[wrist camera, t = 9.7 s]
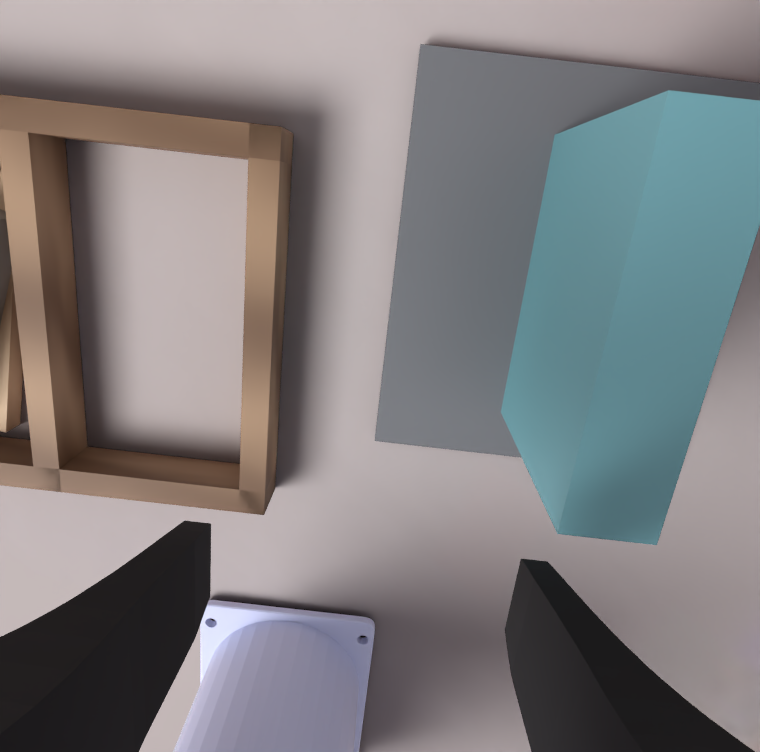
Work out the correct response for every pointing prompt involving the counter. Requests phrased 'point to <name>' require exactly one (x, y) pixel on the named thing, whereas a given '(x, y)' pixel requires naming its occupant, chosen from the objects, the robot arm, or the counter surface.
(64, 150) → the rack
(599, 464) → the teal rectangular block
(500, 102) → the mat
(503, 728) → the counter surface
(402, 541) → the counter surface
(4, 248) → the offcut top
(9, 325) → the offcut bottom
